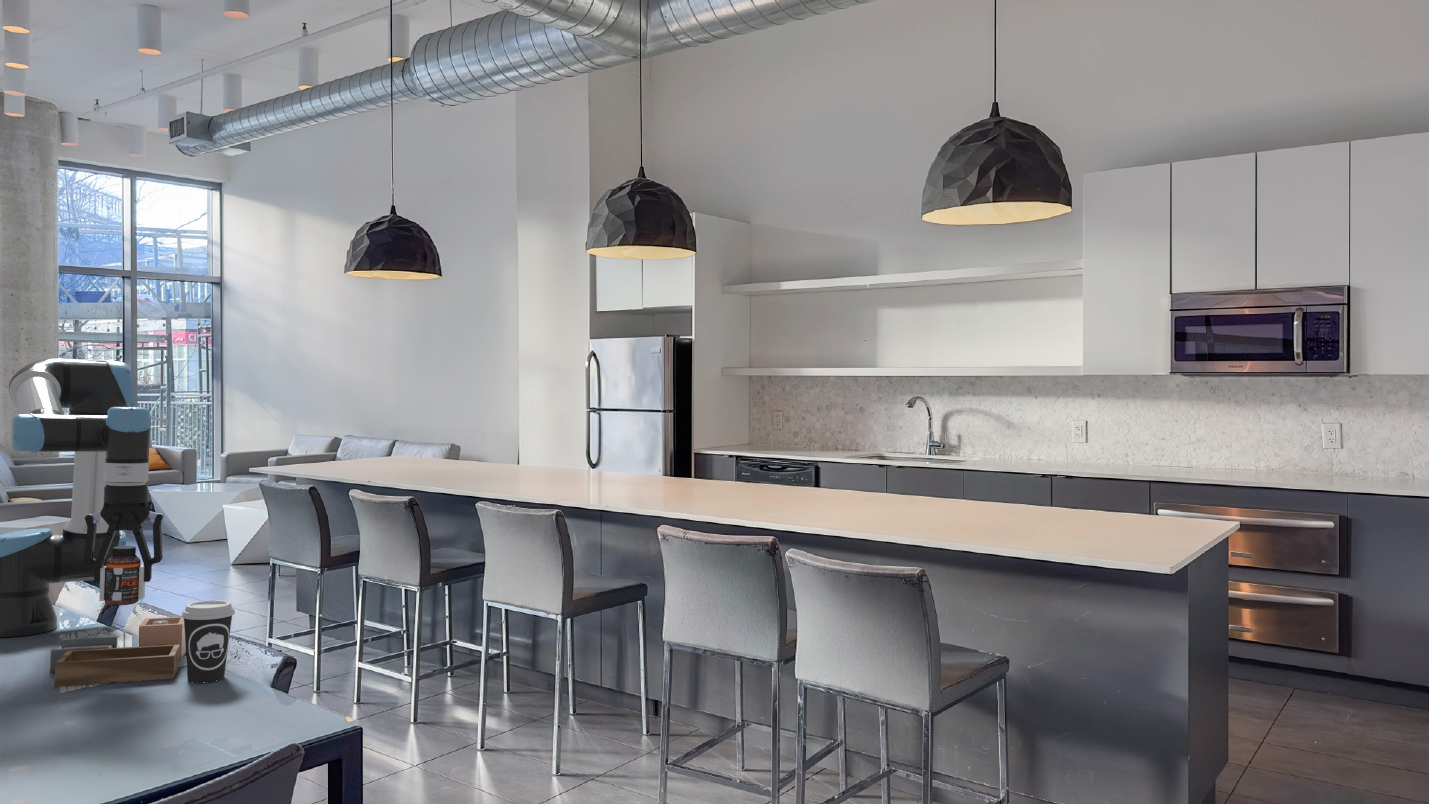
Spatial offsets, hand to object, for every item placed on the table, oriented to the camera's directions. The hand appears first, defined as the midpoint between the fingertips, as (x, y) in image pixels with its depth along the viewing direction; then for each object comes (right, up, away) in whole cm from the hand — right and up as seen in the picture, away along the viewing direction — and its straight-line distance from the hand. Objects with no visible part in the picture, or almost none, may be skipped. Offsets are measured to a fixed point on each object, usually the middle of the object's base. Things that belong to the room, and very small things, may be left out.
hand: (122, 598), depth 193 cm
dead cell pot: (0, -16, +13) cm, 20 cm away
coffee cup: (+17, -16, 0) cm, 23 cm away
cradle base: (-12, -15, +7) cm, 21 cm away
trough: (0, -15, 0) cm, 15 cm away
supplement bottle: (0, -1, 0) cm, 1 cm away
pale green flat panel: (-12, -13, +7) cm, 19 cm away
